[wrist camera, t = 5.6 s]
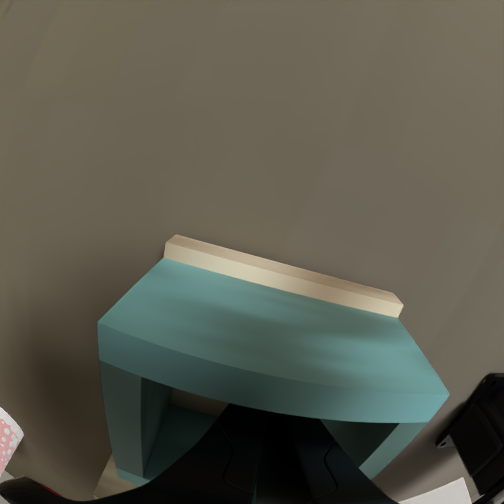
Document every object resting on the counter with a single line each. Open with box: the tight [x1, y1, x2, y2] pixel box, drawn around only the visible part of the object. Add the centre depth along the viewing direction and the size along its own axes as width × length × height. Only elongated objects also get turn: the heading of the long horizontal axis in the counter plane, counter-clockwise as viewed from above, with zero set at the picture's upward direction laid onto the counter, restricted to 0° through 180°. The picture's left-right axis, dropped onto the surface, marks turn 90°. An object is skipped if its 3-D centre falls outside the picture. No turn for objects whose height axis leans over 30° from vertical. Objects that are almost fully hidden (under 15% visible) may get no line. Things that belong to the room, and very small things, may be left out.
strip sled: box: [93, 235, 450, 504], centre depth 11 cm, size 12×25×5 cm, turn 165°
